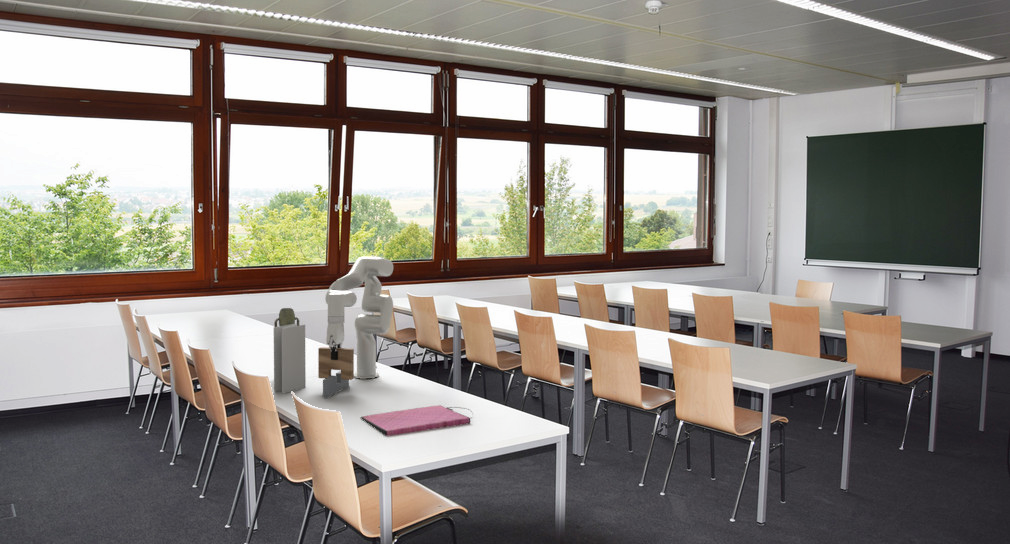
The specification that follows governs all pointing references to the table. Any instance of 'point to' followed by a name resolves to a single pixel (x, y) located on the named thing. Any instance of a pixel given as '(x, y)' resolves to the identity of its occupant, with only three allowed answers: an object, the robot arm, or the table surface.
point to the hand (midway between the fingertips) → (336, 358)
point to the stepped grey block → (333, 385)
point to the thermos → (286, 317)
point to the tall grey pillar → (289, 358)
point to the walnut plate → (336, 363)
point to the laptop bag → (415, 419)
